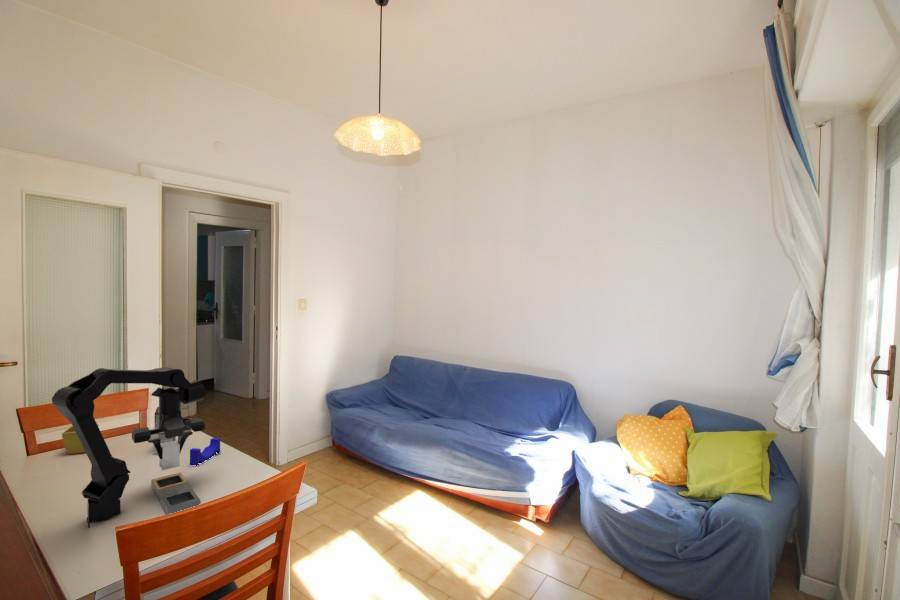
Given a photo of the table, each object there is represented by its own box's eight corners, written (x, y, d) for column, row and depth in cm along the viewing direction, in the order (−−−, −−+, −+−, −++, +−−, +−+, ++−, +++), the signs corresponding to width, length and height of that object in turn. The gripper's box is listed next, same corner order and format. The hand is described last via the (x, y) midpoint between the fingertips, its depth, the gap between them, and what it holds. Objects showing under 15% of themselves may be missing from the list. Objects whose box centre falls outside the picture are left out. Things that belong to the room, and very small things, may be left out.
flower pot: (70, 448, 163) (70, 425, 163) (99, 445, 167) (99, 423, 167) (61, 457, 155) (61, 433, 155) (91, 453, 159) (91, 430, 159)
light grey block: (162, 470, 130) (162, 448, 129) (159, 465, 133) (159, 443, 133) (179, 466, 133) (179, 444, 133) (176, 461, 136) (176, 440, 136)
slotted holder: (168, 520, 117) (168, 509, 117) (151, 488, 134) (151, 479, 134) (200, 510, 123) (200, 499, 122) (180, 481, 140) (180, 472, 140)
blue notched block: (209, 452, 164) (209, 437, 163) (220, 453, 163) (220, 438, 163) (186, 465, 152) (186, 449, 152) (197, 466, 151) (197, 450, 151)
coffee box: (157, 446, 168) (157, 406, 167) (176, 444, 171) (176, 404, 170) (153, 454, 160) (153, 413, 159) (173, 452, 163) (174, 411, 162)
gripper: (137, 420, 120) (137, 473, 121) (210, 408, 133) (209, 456, 134) (131, 410, 128) (131, 461, 128) (200, 400, 141) (200, 446, 142)
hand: (169, 456), depth 133 cm, fingers closed on light grey block, 4 cm apart
